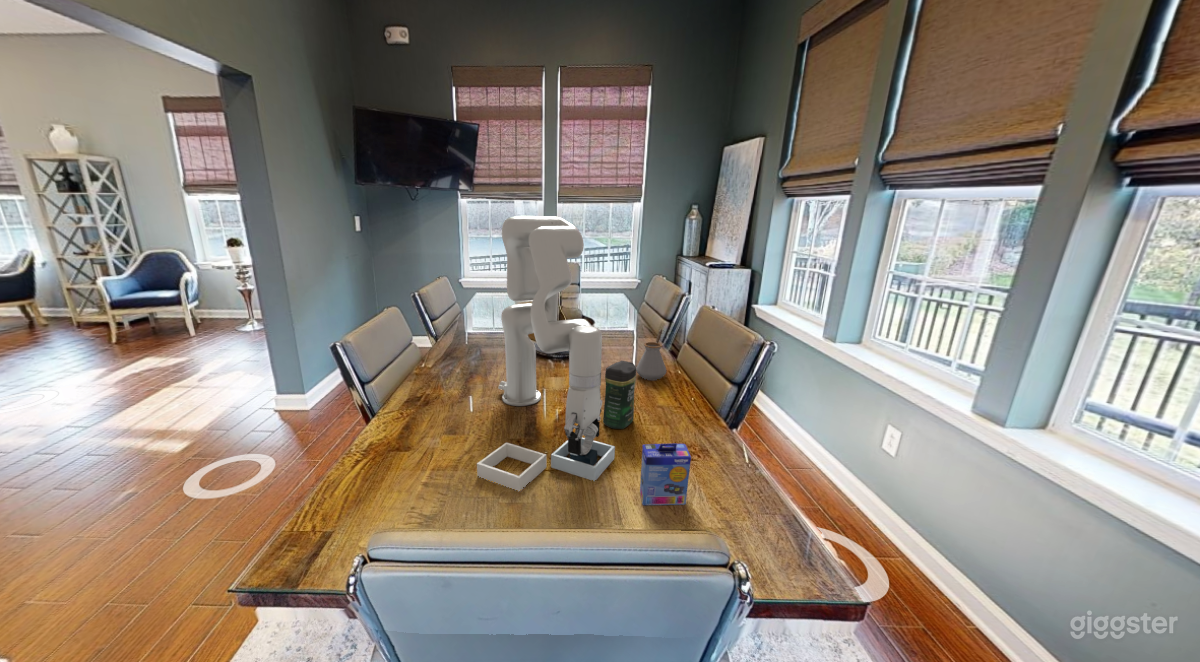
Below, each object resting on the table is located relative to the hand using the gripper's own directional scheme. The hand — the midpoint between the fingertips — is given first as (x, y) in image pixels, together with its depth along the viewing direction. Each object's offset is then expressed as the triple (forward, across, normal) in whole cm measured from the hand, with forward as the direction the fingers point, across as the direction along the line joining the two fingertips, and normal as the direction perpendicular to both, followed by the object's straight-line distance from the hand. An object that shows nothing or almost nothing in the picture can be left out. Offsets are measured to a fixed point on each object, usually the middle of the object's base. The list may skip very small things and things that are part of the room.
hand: (584, 443), depth 109 cm
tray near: (+5, +11, -13) cm, 18 cm away
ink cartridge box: (+6, +4, +22) cm, 23 cm away
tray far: (+5, 0, 0) cm, 5 cm away
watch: (+6, 0, 0) cm, 6 cm away
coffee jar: (+6, -24, -1) cm, 25 cm away
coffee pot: (+5, -69, -6) cm, 70 cm away
